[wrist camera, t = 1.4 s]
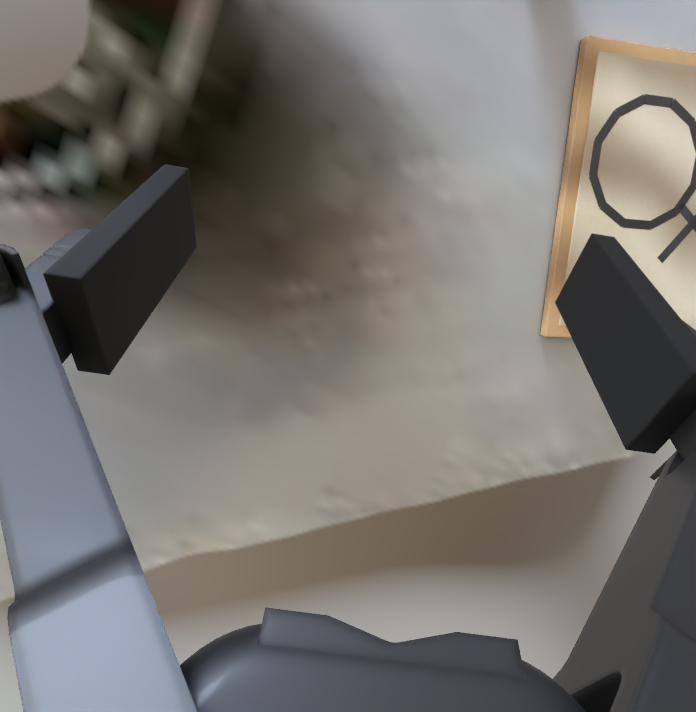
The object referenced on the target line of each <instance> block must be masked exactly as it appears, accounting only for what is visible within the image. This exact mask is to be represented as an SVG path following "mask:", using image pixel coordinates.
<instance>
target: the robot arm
mask: <svg viewBox="0 0 696 712" xmlns="http://www.w3.org/2000/svg"><path fill="white" fill-rule="evenodd" d="M196 247H197V246H196V236H195V226H194V216H193V205H192V195H191V185H190V174H189V168H184V167H178V166H171V165H165V164H164V165H163V166H162V167H161V168H160V169H159V170H158V171H157V172H156V173H154V174H153V175H152V176H151V177H150V178H149V179H148V180H147V181H146V182H144V183H143V184H142V185H141V186H140V187H139V188H138V189H137V190H135V191H134V192H133V193H132V194H131V195H130V196H129V197H128V198H127V199H125V200H124V201H123V202H122V203H121V204H120V205H119V206H118V207H117V208H115V209H114V210H113V211H112V212H111V213H110V214H109V215H108V216H106V217H105V218H104V219H103V220H102V221H101V222H100V223H99V224H98V225H96V226H95V227H94V228H93V229H86V228H82V229H79V230H77V231H75V232H72V233H70V234H67V235H65V236H64V237H63V238H61V239H60V240H59V241H58V242H57V243H55V244H54V245H53V248H49V249H48V250H47V251H46V252H45V253H43V254H44V255H43V256H40V257H39V258H38V259H36V260H35V261H34V262H33V263H32V264H30V265H29V266H28V267H27V268H26V269H25V268H24V266H23V263H22V261H21V258H20V256H19V253H18V252H17V251H16V250H15V249H14V248H12V247H9V246H6V245H2V244H0V520H1V525H2V530H3V535H4V540H5V545H6V550H7V554H8V559H9V564H10V569H11V574H12V579H13V584H14V590H15V602H14V603H13V604H12V605H10V606H9V609H8V626H9V635H10V640H11V646H12V651H13V657H14V662H15V667H16V673H17V678H18V684H19V689H20V695H21V700H22V706H23V711H24V712H696V330H695V329H694V328H692V327H691V326H690V325H688V324H687V323H686V322H684V321H683V320H682V319H681V318H680V317H679V316H678V315H677V313H676V312H675V311H674V310H673V308H672V307H671V306H670V305H669V304H668V302H667V301H666V300H665V299H664V297H663V296H662V295H661V294H660V292H659V291H658V290H657V289H656V288H655V286H654V285H653V284H652V283H651V281H650V280H649V279H648V278H647V276H646V275H645V274H644V273H643V272H642V270H641V269H640V268H639V267H638V265H637V264H636V263H635V262H634V261H633V259H632V258H631V257H630V256H629V254H628V253H627V252H626V251H625V249H624V248H623V247H622V246H621V245H620V243H619V242H618V241H617V240H616V238H615V237H611V236H605V235H599V234H593V233H591V235H590V237H589V239H588V241H587V243H586V245H585V247H584V249H583V250H582V252H581V254H580V256H579V258H578V260H577V262H576V264H575V265H574V267H573V269H572V271H571V273H570V275H569V277H568V279H567V280H566V282H565V284H564V286H563V288H562V290H561V292H560V294H559V296H558V297H557V299H556V301H555V304H556V306H557V308H558V310H559V312H560V314H561V316H562V318H563V320H564V323H565V325H566V327H567V329H568V331H569V333H570V335H571V337H572V339H573V341H574V343H575V345H576V347H577V349H578V352H579V354H580V356H581V358H582V360H583V362H584V364H585V366H586V368H587V370H588V372H589V374H590V376H591V378H592V381H593V383H594V385H595V387H596V389H597V391H598V393H599V395H600V397H601V399H602V401H603V403H604V405H605V407H606V410H607V412H608V414H609V416H610V418H611V420H612V422H613V424H614V426H615V428H616V430H617V432H618V434H619V436H620V439H621V441H622V443H623V445H624V447H625V449H626V450H633V451H640V452H647V453H656V452H657V451H658V450H659V449H660V448H661V447H662V446H663V444H664V443H665V442H666V441H667V440H668V439H669V438H670V439H671V441H672V443H673V444H674V446H675V448H676V449H677V451H676V452H675V453H674V454H673V455H672V456H671V457H670V458H669V459H668V460H667V461H666V462H665V463H664V464H663V465H662V466H661V467H660V468H659V469H658V470H657V471H656V472H655V473H654V474H653V475H652V476H651V477H650V478H652V479H653V480H655V479H656V478H657V477H659V478H658V480H657V482H656V484H655V486H654V488H653V490H652V492H651V494H650V496H649V498H648V500H647V502H646V504H645V506H644V508H643V510H642V512H641V514H640V516H639V518H638V520H637V522H636V524H635V526H634V528H633V530H632V532H631V534H630V536H629V538H628V540H627V542H626V544H625V546H624V548H623V550H622V552H621V554H620V556H619V558H618V560H617V562H616V564H615V566H614V568H613V570H612V572H611V574H610V576H609V578H608V580H607V582H606V584H605V586H604V588H603V590H602V592H601V594H600V596H599V598H598V600H597V602H596V604H595V606H594V608H593V610H592V612H591V614H590V616H589V618H588V620H587V622H586V624H585V626H584V628H583V630H582V632H581V634H580V636H579V638H578V640H577V642H576V644H575V646H574V648H573V650H572V652H571V654H570V656H569V658H568V660H567V661H566V663H565V665H564V666H563V667H562V669H561V670H560V671H559V672H558V673H557V675H556V676H555V677H554V678H553V679H551V678H550V677H549V676H547V675H546V674H545V673H543V672H542V671H541V670H539V669H537V668H535V667H534V666H532V665H530V664H529V663H527V662H525V661H523V660H521V656H520V650H519V645H518V640H514V639H507V638H499V637H491V636H483V635H476V634H468V633H460V632H454V633H449V634H444V635H438V636H432V637H427V638H421V639H416V640H410V641H405V642H399V643H391V642H388V641H385V640H383V639H380V638H378V637H376V636H374V635H371V634H369V633H367V632H365V631H362V630H360V629H358V628H355V627H353V626H351V625H348V624H346V623H344V622H342V621H339V620H337V619H335V618H332V617H330V616H327V615H319V614H311V613H303V612H296V611H288V610H280V609H273V608H265V612H264V617H263V622H262V624H258V625H252V626H247V627H244V628H241V629H238V630H235V631H232V632H230V633H228V634H226V635H223V636H221V637H219V638H217V639H215V640H214V641H212V642H210V643H209V644H207V645H206V646H204V647H202V648H201V649H199V650H198V651H197V652H196V653H194V654H193V655H192V656H191V657H190V658H188V659H187V660H186V661H184V662H183V663H182V664H181V665H180V666H179V663H178V661H177V658H176V656H175V653H174V650H173V648H172V645H171V643H170V640H169V638H168V635H167V632H166V630H165V627H164V625H163V622H162V620H161V617H160V615H159V612H158V609H157V607H156V604H155V602H154V599H153V597H152V594H151V591H150V589H149V586H148V584H147V581H146V579H145V576H144V573H143V571H142V568H141V566H140V563H139V561H138V558H137V555H136V553H135V550H134V548H133V545H132V543H131V540H130V538H129V535H128V532H127V530H126V527H125V525H124V522H123V520H122V517H121V514H120V512H119V509H118V507H117V504H116V502H115V499H114V497H113V494H112V491H111V489H110V486H109V484H108V481H107V479H106V476H105V473H104V471H103V468H102V466H101V463H100V461H99V458H98V455H97V453H96V450H95V448H94V445H93V443H92V440H91V438H90V435H89V432H88V430H87V427H86V425H85V422H84V420H83V417H82V414H81V412H80V409H79V407H78V404H77V402H76V399H75V396H74V394H73V391H72V389H71V386H70V384H69V381H68V379H67V376H66V373H65V371H64V368H63V366H62V363H63V362H64V361H65V360H66V359H67V357H68V356H69V355H70V354H71V353H72V355H73V358H74V361H75V364H76V367H77V369H78V370H79V371H86V372H93V373H99V374H106V375H110V373H111V372H112V370H113V369H114V367H115V366H116V364H117V363H118V362H119V360H120V359H121V357H122V356H123V354H124V353H125V351H126V350H127V348H128V347H129V345H130V344H131V342H132V341H133V339H134V338H135V337H136V335H137V334H138V332H139V331H140V329H141V328H142V326H143V325H144V323H145V322H146V320H147V319H148V317H149V316H150V314H151V313H152V312H153V310H154V309H155V307H156V306H157V304H158V303H159V301H160V300H161V298H162V297H163V295H164V294H165V292H166V291H167V290H168V288H169V287H170V285H171V284H172V282H173V281H174V279H175V278H176V276H177V275H178V273H179V272H180V270H181V269H182V267H183V266H184V265H185V263H186V262H187V260H188V259H189V257H190V256H191V254H192V253H193V251H194V250H195V248H196Z"/></svg>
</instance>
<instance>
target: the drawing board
mask: <svg viewBox="0 0 696 712" xmlns="http://www.w3.org/2000/svg"><path fill="white" fill-rule="evenodd" d="M591 233H593V234H599V235H605V236H611V237H615V238H616V240H617V241H618V242H619V243H620V245H621V246H622V247H623V248H624V249H625V251H626V252H627V253H628V254H629V256H630V257H631V258H632V259H633V261H634V262H635V263H636V264H637V265H638V267H639V268H640V269H641V270H642V272H643V273H644V274H645V275H646V276H647V278H648V279H649V280H650V281H651V283H652V284H653V285H654V286H655V288H656V289H657V290H658V291H659V292H660V294H661V295H662V296H663V297H664V299H665V300H666V301H667V302H668V304H669V305H670V306H671V307H672V308H673V310H674V311H675V312H676V313H677V315H678V316H679V317H680V318H681V319H682V320H683V321H684V322H686V323H687V324H688V325H690V326H691V327H692V328H694V329H695V330H696V53H693V52H687V51H681V50H674V49H668V48H662V47H655V46H649V45H643V44H636V43H630V42H624V41H618V40H611V39H605V38H599V37H592V36H587V37H585V38H584V39H583V40H581V43H580V51H579V58H578V65H577V72H576V80H575V87H574V94H573V101H572V108H571V116H570V123H569V130H568V137H567V145H566V152H565V159H564V166H563V174H562V181H561V188H560V195H559V203H558V210H557V217H556V224H555V232H554V239H553V246H552V253H551V260H550V268H549V275H548V282H547V289H546V297H545V304H544V311H543V318H542V326H541V333H540V335H541V336H545V337H569V338H572V337H571V335H570V333H569V331H568V329H567V327H566V325H565V323H564V320H563V318H562V316H561V314H560V312H559V310H558V308H557V306H556V304H555V301H556V299H557V297H558V296H559V294H560V292H561V290H562V288H563V286H564V284H565V282H566V280H567V279H568V277H569V275H570V273H571V271H572V269H573V267H574V265H575V264H576V262H577V260H578V258H579V256H580V254H581V252H582V250H583V249H584V247H585V245H586V243H587V241H588V239H589V237H590V235H591Z"/></svg>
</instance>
